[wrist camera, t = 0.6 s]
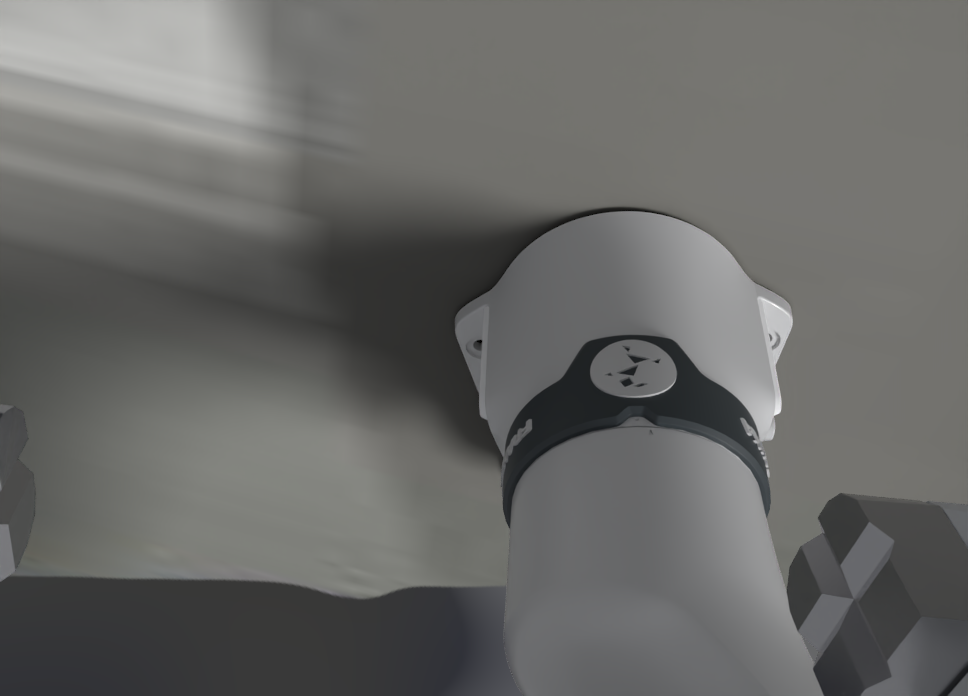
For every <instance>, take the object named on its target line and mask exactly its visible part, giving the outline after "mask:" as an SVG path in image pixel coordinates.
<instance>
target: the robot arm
mask: <svg viewBox="0 0 968 696" xmlns="http://www.w3.org/2000/svg"><path fill="white" fill-rule="evenodd" d="M792 324H793V318H792V311H791V307H790V305H789V304H788V302H787V301H786V300H784V299H783V298H782V297H780V296H779V295H777V294H775V293H774V292H772V291H770V290H768V289H766V288H764V287H762V286H760V285H758V284H756V283H754V282H753V281H752V280H751V279H750V278H749V277H748V276H747V275H746V274H745V272H744V271H743V270H742V268H741V267H740V266H739V264H738V263H737V261H736V260H735V259H734V257H733V256H732V255H731V254H730V252H729V251H728V250H727V249H726V248H725V247H724V246H723V245H722V244H720V243H719V242H718V241H717V240H716V239H714V238H713V237H712V236H710V235H709V234H707V233H706V232H704V231H702V230H701V229H699V228H697V227H695V226H693V225H691V224H689V223H686V222H684V221H681V220H678V219H675V218H672V217H668V216H664V215H660V214H654V213H647V212H636V211H619V212H608V213H600V214H595V215H590V216H586V217H583V218H579V219H576V220H573V221H570V222H568V223H565V224H563V225H561V226H558V227H556V228H554V229H552V230H551V231H549V232H547V233H545V234H544V235H542V236H541V237H539V238H538V239H536V240H535V241H534V242H532V243H531V244H530V245H529V246H527V247H526V248H525V249H524V250H523V251H522V252H521V253H520V254H519V255H518V256H517V257H516V258H515V260H514V261H513V262H512V263H511V265H510V266H509V267H508V269H507V270H506V272H505V273H504V275H503V276H502V277H501V279H500V280H499V282H498V283H497V284H496V285H495V286H494V287H493V288H492V289H491V290H490V291H488V292H487V293H485V294H483V295H481V296H480V297H478V298H476V299H475V300H473V301H471V302H470V303H468V304H467V305H465V306H464V307H463V308H462V309H461V310H460V311H459V312H458V313H457V315H456V317H455V334H456V337H457V340H458V343H459V345H460V348H461V350H462V353H463V355H464V358H465V360H466V363H467V365H468V368H469V370H470V373H471V375H472V378H473V380H474V383H475V385H476V388H477V390H478V393H479V411H480V416H481V417H482V418H484V419H486V420H488V424H489V427H490V430H491V433H492V435H493V437H494V439H495V442H496V444H497V446H498V448H499V450H500V452H501V454H502V456H503V462H502V469H501V487H502V497H503V511H504V515H505V519H506V522H507V524H508V526H509V528H510V538H509V555H508V572H507V589H506V606H505V622H504V647H505V652H506V658H507V661H508V665H509V667H510V671H511V673H512V676H513V678H514V680H515V682H516V684H517V686H518V688H519V690H520V691H521V693H522V695H523V696H968V505H967V504H956V503H945V502H933V501H927V502H923V501H917V500H907V499H897V498H886V497H876V496H866V495H855V494H845V493H840V494H838V495H837V496H835V497H834V498H832V499H831V500H829V501H828V502H827V504H826V505H825V507H824V509H823V510H822V512H821V513H820V515H819V517H818V520H819V524H820V527H821V530H822V534H820V535H818V536H817V537H815V538H813V539H812V540H810V541H808V542H807V543H805V544H803V545H802V546H801V547H800V548H799V550H798V552H797V554H796V556H795V558H794V560H793V562H792V563H791V565H790V567H789V576H788V584H787V591H786V588H785V585H784V581H783V578H782V574H781V571H780V568H779V564H778V561H777V557H776V554H775V550H774V546H773V542H772V538H771V535H770V531H769V527H768V523H767V516H768V513H769V510H770V503H771V499H770V487H769V480H768V477H770V476H769V468H768V463H767V458H766V454H765V451H764V447H763V445H762V441H765V440H766V441H769V440H772V438H773V436H774V432H775V419H774V415H777V414H779V413H780V411H781V395H780V389H779V384H778V379H777V373H776V368H775V365H776V363H777V360H778V358H779V356H780V354H781V351H782V349H783V347H784V344H785V342H786V340H787V337H788V335H789V333H790V330H791V328H792ZM477 340H482V343H478V342H476V341H477ZM27 440H28V434H27V429H26V424H25V418H24V413H23V411H21V410H20V409H18V408H17V407H15V406H10V405H2V404H0V581H2V580H3V579H5V578H6V577H8V576H9V575H11V574H12V573H14V572H15V571H16V569H17V567H18V565H19V563H20V560H21V558H22V556H23V554H24V551H25V549H26V547H27V544H28V540H29V536H30V532H31V528H32V524H33V520H34V516H35V497H36V491H35V483H34V475H33V473H32V472H31V471H30V470H29V469H28V468H27V467H26V466H25V465H24V464H23V463H22V462H21V461H20V460H19V459H18V457H19V455H20V454H21V452H22V450H23V448H24V446H25V444H26V442H27ZM801 635H802V636H803V637H804V638H805V639H806V640H807V641H808V642H809V643H810V644H811V645H813V647H815V648H816V649H817V650H818V654H817V657H816V660H815V663H814V662H813V660H812V658H811V657H810V654H809V652H808V650H807V648H806V646H805V643H804V641H803V639H802V636H801Z"/></svg>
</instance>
